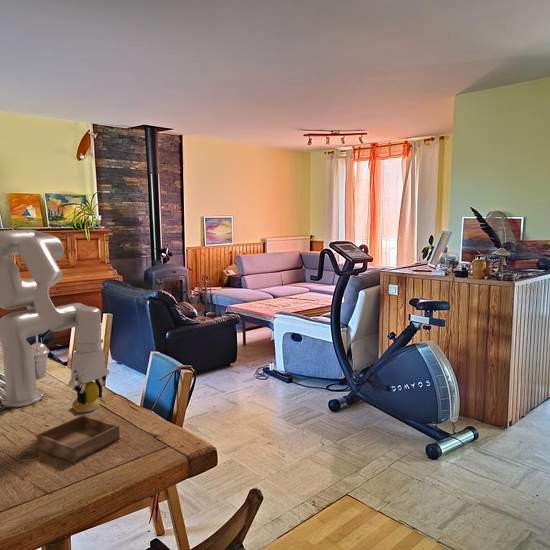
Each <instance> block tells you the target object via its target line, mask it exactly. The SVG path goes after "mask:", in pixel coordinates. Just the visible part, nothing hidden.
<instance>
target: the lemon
mask: <svg viewBox="0 0 550 550" xmlns="http://www.w3.org/2000/svg"><path fill="white" fill-rule="evenodd" d="M84 392H85V393H86V403H88V404H91V403H92V402H94V401H96V400H98V398H99V397H98V396H99V388H98V385H97V384H96V383H95V381H91V382H88V383H86V385H85V389H84Z"/></svg>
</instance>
